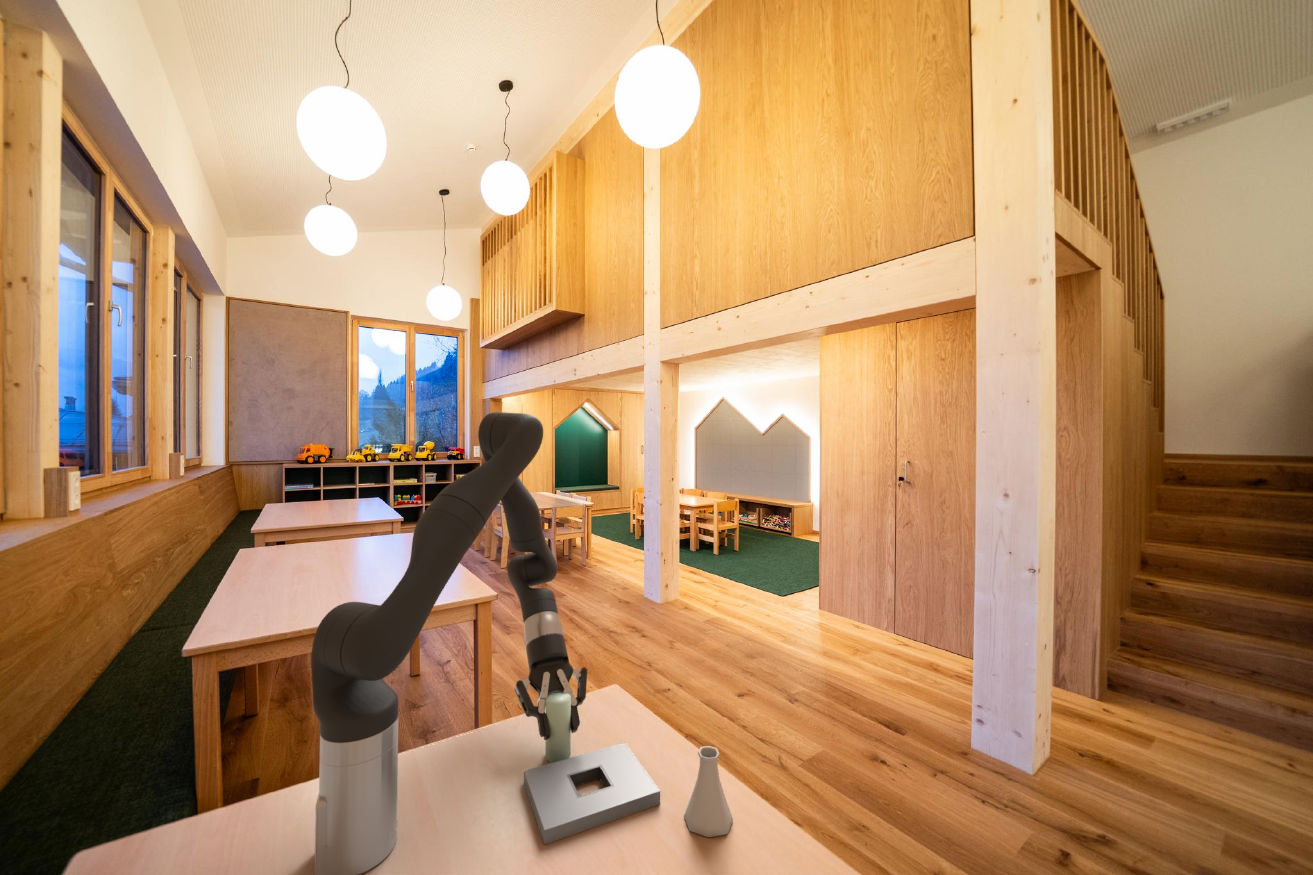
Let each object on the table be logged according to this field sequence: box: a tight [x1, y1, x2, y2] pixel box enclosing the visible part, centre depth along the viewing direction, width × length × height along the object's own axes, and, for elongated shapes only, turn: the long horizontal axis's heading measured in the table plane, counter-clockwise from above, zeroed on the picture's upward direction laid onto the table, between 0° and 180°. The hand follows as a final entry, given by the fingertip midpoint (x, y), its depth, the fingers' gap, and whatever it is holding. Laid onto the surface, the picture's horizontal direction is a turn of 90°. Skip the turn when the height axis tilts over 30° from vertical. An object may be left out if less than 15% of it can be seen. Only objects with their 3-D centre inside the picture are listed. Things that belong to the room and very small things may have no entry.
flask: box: [683, 745, 734, 838], centre depth 74 cm, size 7×7×10 cm
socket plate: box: [523, 742, 661, 846], centre depth 79 cm, size 18×14×2 cm
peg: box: [544, 692, 572, 763], centre depth 89 cm, size 4×4×10 cm
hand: (561, 734), depth 87 cm, fingers closed on peg, 4 cm apart
